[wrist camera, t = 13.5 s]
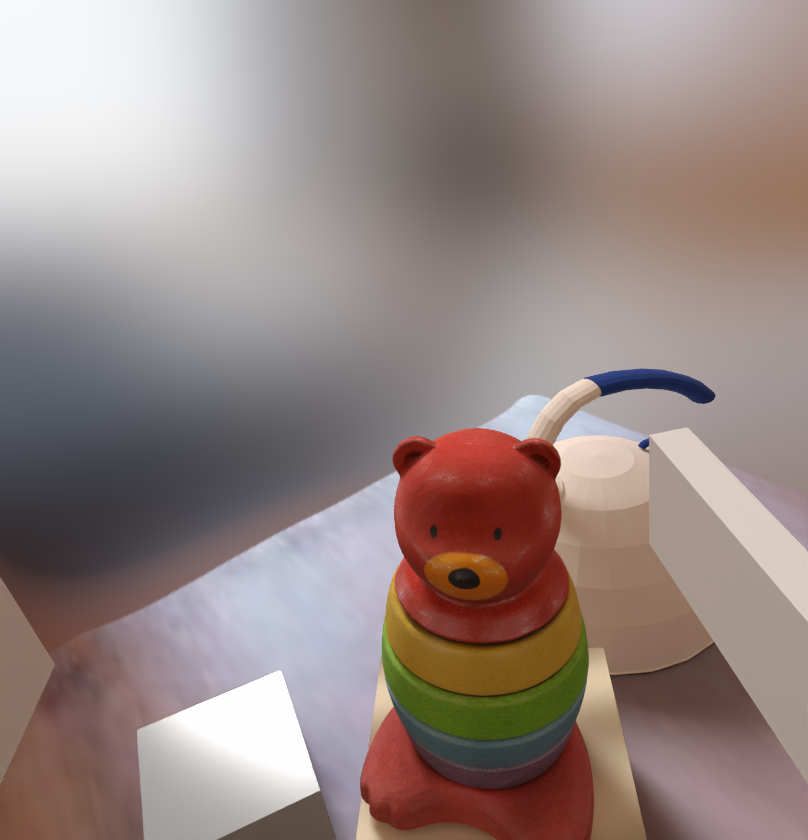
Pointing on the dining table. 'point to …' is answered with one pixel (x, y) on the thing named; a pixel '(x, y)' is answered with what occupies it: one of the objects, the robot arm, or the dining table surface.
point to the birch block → (612, 777)
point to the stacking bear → (481, 647)
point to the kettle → (619, 532)
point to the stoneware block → (231, 771)
